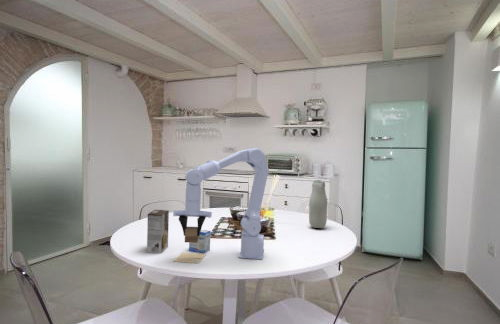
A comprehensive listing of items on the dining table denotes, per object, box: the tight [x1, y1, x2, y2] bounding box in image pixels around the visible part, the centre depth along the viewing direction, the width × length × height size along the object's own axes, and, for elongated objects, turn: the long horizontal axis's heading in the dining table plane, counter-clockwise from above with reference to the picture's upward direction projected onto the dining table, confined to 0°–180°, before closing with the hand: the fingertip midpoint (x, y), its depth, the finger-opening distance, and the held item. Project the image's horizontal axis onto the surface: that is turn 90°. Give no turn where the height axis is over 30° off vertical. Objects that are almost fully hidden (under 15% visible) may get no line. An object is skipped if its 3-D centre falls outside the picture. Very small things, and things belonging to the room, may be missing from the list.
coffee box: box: [146, 209, 170, 254], centre depth 128 cm, size 9×6×16 cm
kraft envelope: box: [172, 252, 207, 264], centre depth 119 cm, size 10×10×1 cm
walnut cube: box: [184, 226, 199, 243], centre depth 117 cm, size 4×4×5 cm
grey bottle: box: [308, 179, 328, 229], centre depth 175 cm, size 10×10×28 cm
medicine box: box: [188, 229, 212, 254], centre depth 128 cm, size 8×4×9 cm, turn 70°
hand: (191, 235), depth 117 cm, fingers closed on walnut cube, 4 cm apart
